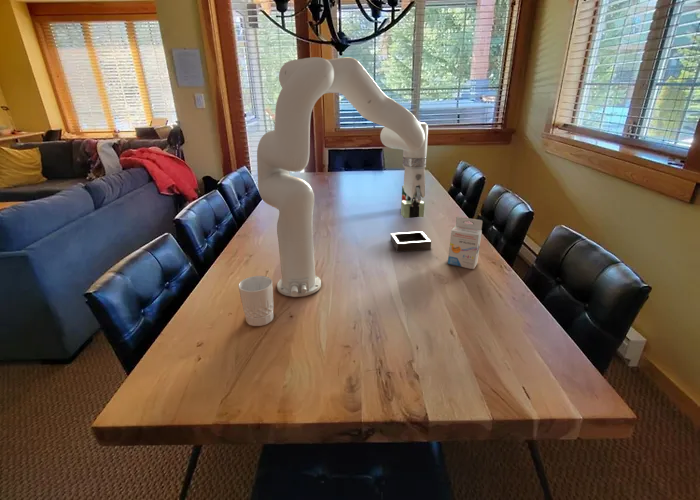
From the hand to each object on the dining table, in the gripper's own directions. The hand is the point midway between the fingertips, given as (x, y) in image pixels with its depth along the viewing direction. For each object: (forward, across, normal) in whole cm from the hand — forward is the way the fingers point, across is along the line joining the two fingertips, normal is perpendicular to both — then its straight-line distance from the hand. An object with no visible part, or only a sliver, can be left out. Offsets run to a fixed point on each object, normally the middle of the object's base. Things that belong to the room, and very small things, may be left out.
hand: (412, 214), depth 130 cm
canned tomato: (+12, +41, -12) cm, 44 cm away
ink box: (+12, -18, -12) cm, 25 cm away
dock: (+11, 0, 0) cm, 12 cm away
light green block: (0, 0, 0) cm, 1 cm away
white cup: (+11, -39, +50) cm, 65 cm away
